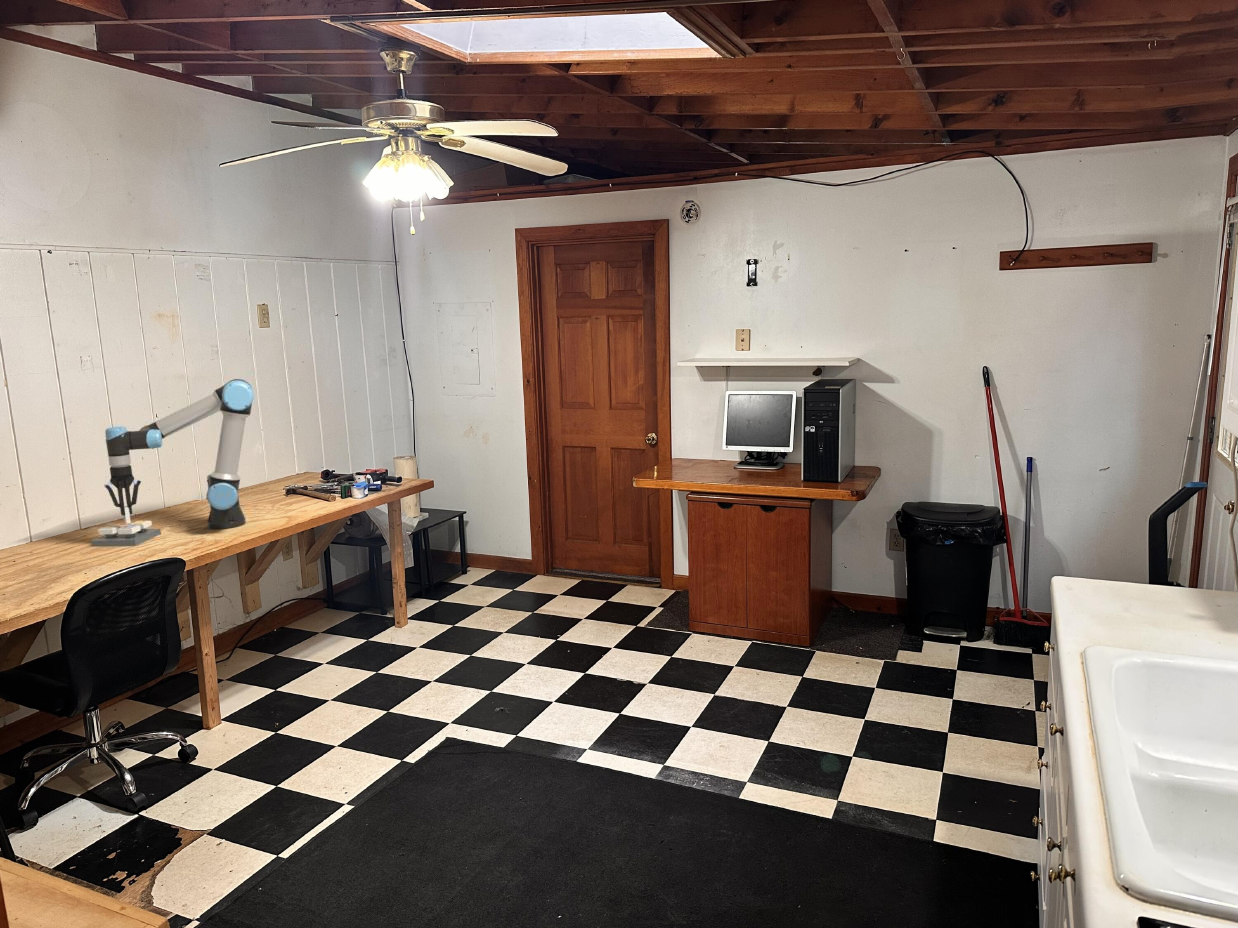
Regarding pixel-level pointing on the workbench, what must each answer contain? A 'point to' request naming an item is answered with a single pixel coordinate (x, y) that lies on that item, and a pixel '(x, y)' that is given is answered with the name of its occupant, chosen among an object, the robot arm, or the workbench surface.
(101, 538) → the keypad board
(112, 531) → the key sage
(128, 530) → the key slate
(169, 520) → the workbench surface
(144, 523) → the cream key cap
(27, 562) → the workbench surface
